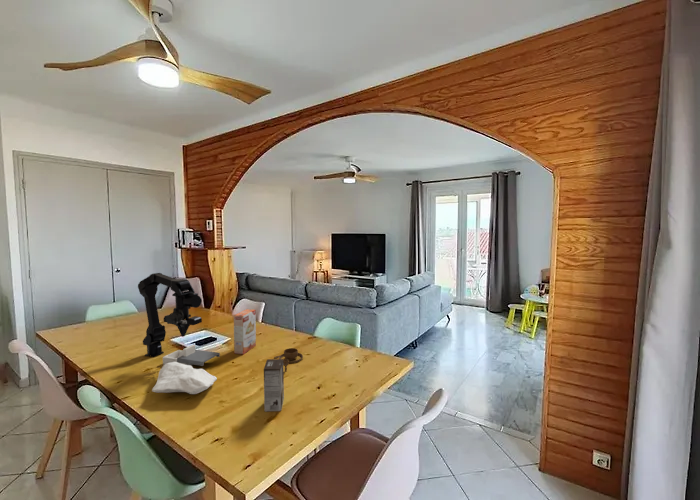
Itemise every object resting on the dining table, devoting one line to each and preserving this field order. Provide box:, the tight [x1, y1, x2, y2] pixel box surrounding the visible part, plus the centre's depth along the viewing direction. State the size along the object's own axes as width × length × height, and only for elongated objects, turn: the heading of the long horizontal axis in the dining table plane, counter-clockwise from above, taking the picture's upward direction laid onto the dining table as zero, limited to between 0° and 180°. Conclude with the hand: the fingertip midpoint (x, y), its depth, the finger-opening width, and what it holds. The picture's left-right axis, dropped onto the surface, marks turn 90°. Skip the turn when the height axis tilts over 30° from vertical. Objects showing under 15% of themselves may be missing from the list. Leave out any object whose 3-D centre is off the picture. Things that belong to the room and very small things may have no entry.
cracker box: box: [233, 308, 257, 355], centre depth 184 cm, size 14×6×21 cm, turn 168°
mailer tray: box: [162, 349, 193, 366], centre depth 168 cm, size 14×10×4 cm
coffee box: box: [263, 358, 285, 412], centre depth 128 cm, size 9×6×16 cm
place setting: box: [273, 347, 304, 373], centre depth 169 cm, size 18×20×6 cm
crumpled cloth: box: [151, 362, 217, 395], centre depth 141 cm, size 24×35×9 cm
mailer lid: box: [177, 344, 221, 367], centre depth 165 cm, size 15×12×6 cm
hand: (183, 336), depth 168 cm, fingers closed
